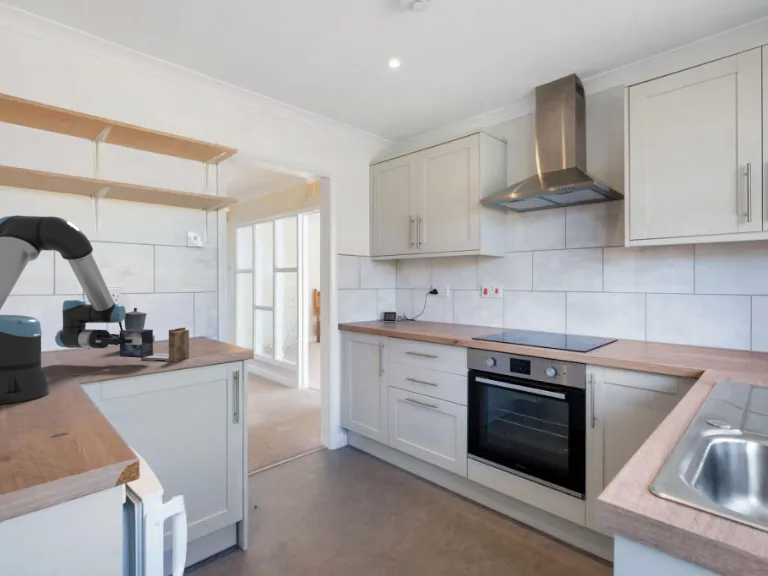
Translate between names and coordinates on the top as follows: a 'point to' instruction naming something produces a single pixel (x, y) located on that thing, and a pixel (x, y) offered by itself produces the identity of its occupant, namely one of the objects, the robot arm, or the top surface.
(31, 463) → the top surface
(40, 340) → the robot arm
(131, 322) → the moka pot
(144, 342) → the small box
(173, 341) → the bookend
